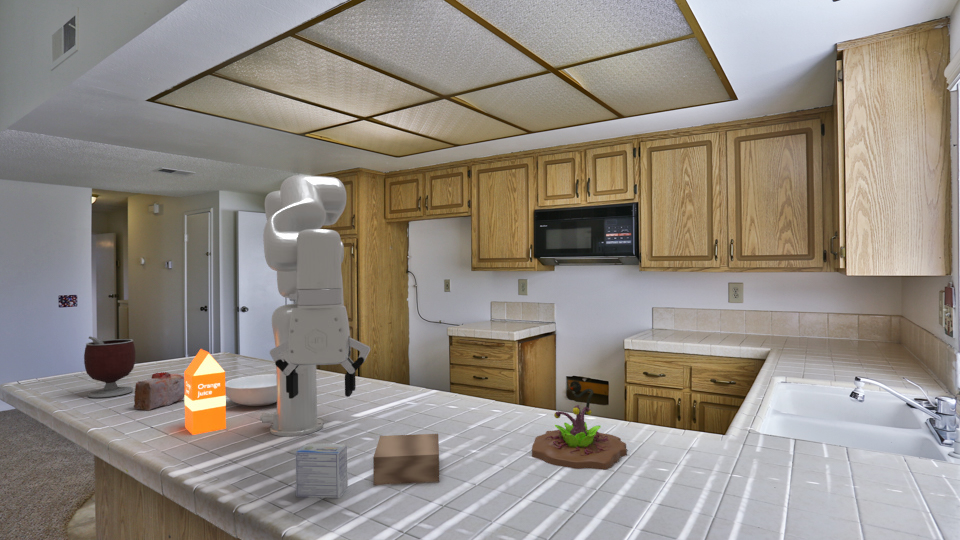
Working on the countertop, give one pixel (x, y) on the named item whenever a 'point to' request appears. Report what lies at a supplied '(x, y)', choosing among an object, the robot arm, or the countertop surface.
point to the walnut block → (406, 459)
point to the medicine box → (321, 470)
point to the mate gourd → (109, 364)
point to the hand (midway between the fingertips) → (321, 395)
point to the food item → (159, 391)
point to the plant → (578, 445)
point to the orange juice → (204, 395)
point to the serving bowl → (252, 390)
